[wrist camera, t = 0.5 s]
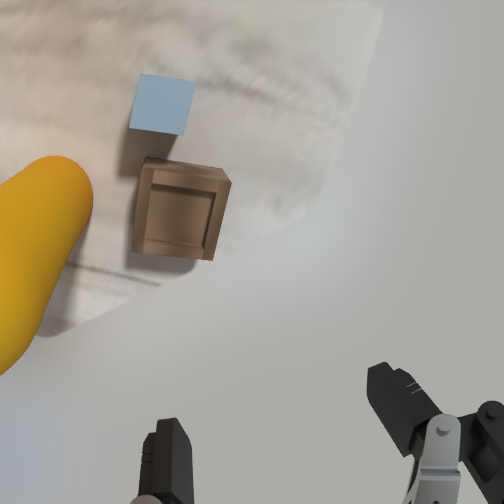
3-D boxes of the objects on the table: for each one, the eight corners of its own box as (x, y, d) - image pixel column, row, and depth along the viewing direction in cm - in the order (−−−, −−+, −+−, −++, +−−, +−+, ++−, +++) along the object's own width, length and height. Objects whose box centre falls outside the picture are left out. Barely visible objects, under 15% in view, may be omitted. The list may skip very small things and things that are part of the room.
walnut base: (136, 228, 32) (131, 251, 27) (146, 156, 28) (141, 169, 24) (206, 237, 34) (212, 260, 30) (222, 169, 31) (231, 183, 27)
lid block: (136, 121, 26) (128, 127, 21) (146, 77, 24) (140, 73, 19) (180, 127, 28) (183, 135, 23) (191, 84, 26) (196, 82, 21)
